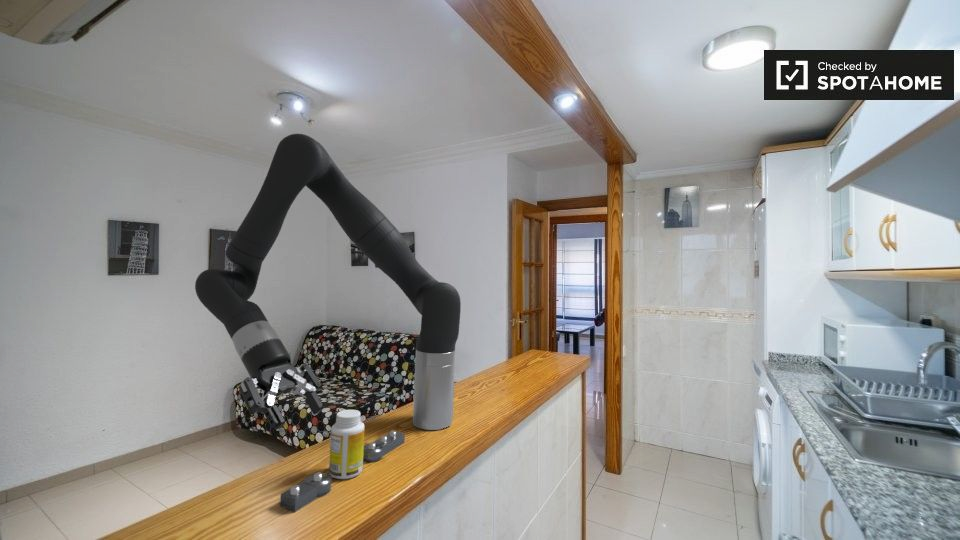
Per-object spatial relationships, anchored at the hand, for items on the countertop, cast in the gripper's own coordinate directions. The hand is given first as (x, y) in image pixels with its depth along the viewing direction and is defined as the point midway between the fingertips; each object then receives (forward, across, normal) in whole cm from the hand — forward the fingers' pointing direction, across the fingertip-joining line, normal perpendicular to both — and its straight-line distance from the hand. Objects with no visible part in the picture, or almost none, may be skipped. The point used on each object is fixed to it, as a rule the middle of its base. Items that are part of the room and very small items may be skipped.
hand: (300, 418), depth 72 cm
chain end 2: (+13, +9, -3) cm, 17 cm away
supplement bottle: (+13, 0, -3) cm, 14 cm away
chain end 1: (+13, -9, -4) cm, 16 cm away
